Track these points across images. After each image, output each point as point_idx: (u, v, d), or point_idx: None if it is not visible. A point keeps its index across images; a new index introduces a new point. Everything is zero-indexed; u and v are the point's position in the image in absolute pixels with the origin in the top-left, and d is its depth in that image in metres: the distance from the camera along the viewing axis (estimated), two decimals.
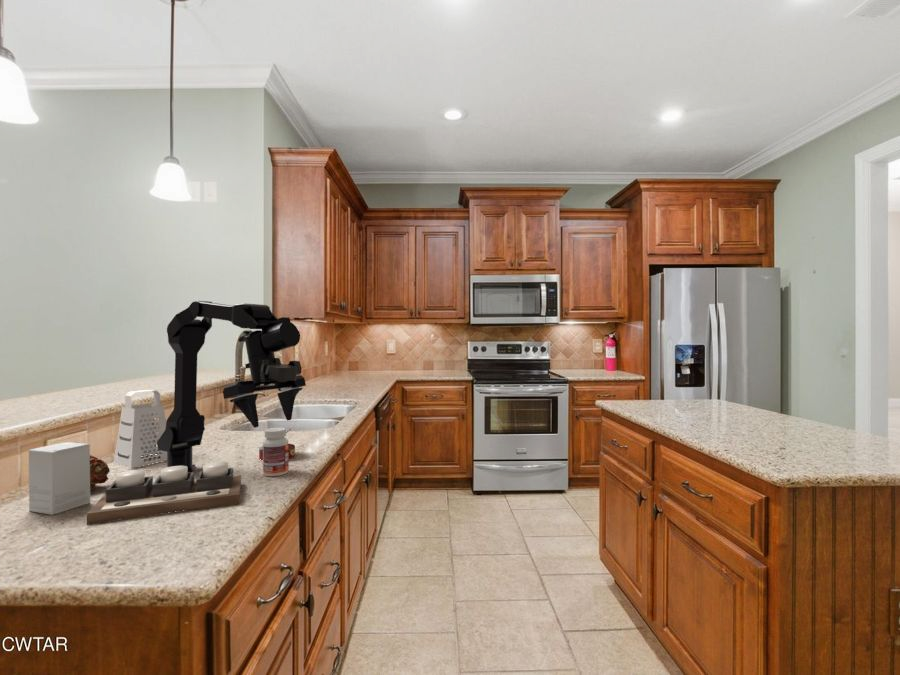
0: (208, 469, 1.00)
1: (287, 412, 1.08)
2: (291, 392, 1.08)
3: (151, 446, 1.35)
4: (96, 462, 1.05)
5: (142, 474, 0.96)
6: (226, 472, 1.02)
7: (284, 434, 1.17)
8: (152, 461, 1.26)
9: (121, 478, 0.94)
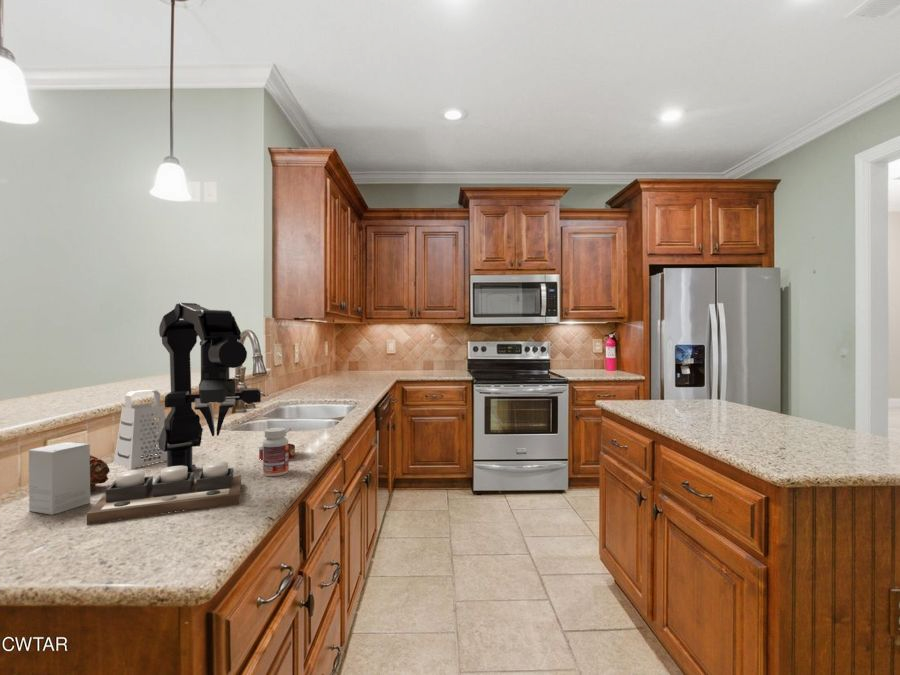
0: (208, 469, 1.00)
1: (217, 427, 1.02)
2: (219, 408, 1.01)
3: (151, 446, 1.35)
4: (96, 462, 1.05)
5: (142, 474, 0.96)
6: (226, 472, 1.02)
7: (284, 434, 1.17)
8: (152, 461, 1.26)
9: (121, 478, 0.94)
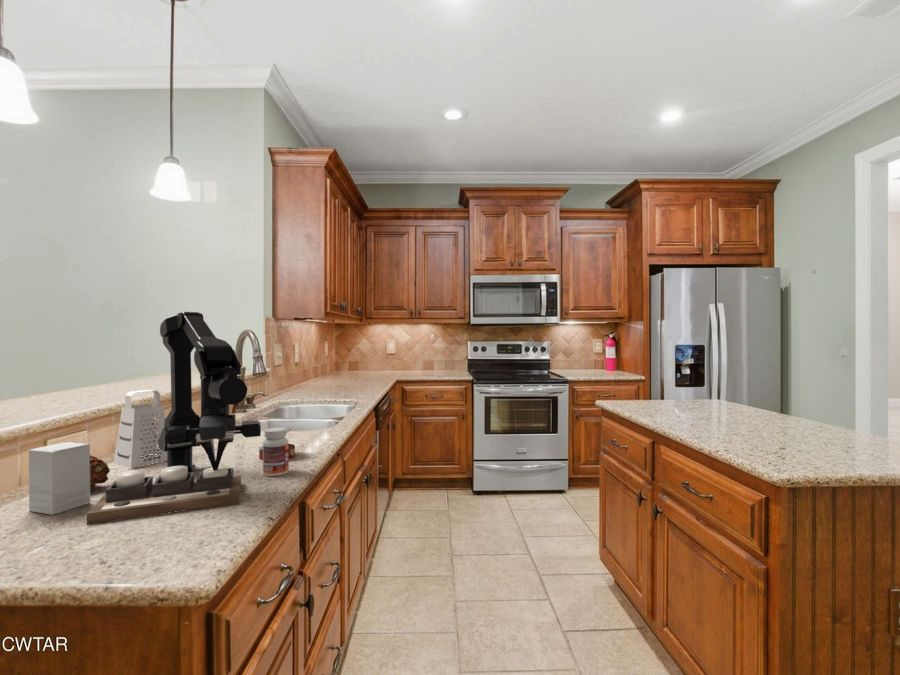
0: (208, 474, 1.00)
1: (215, 461, 1.02)
2: (218, 443, 1.01)
3: (151, 446, 1.35)
4: (96, 462, 1.05)
5: (142, 474, 0.96)
6: None
7: (284, 434, 1.17)
8: (152, 461, 1.26)
9: (121, 478, 0.94)
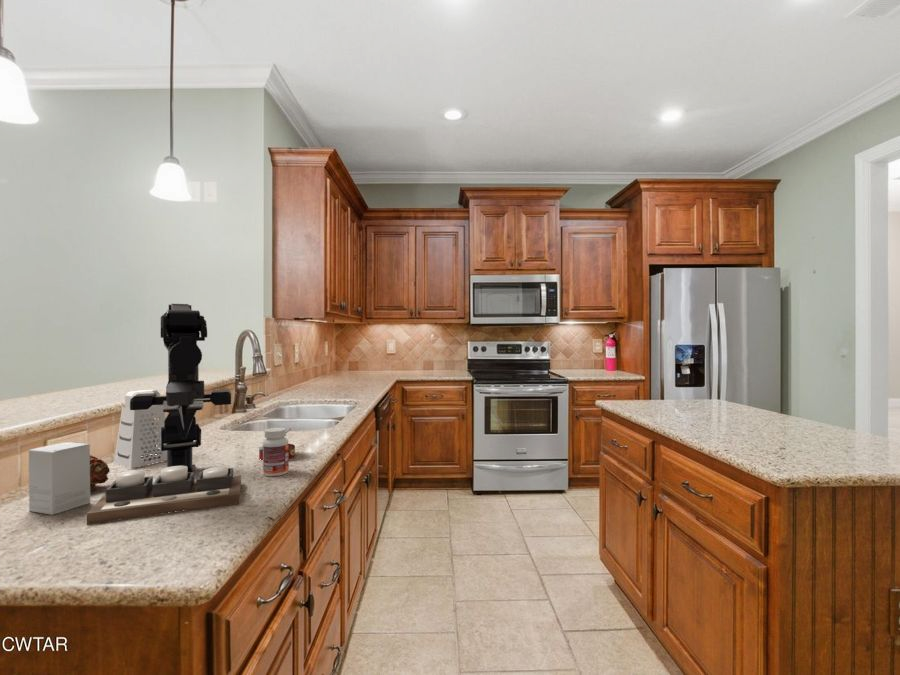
0: (208, 474, 1.00)
1: None
2: (186, 411, 0.98)
3: (151, 446, 1.35)
4: (96, 462, 1.05)
5: (142, 474, 0.96)
6: None
7: (284, 434, 1.17)
8: (152, 461, 1.26)
9: (121, 478, 0.94)
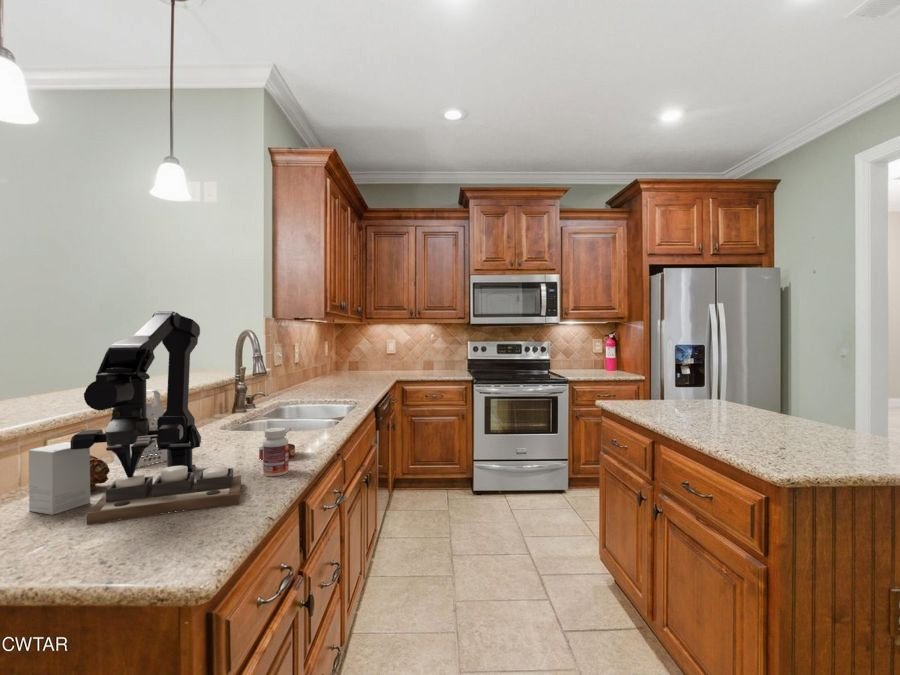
0: (208, 474, 1.00)
1: None
2: None
3: (151, 446, 1.35)
4: (96, 462, 1.05)
5: (142, 478, 0.96)
6: None
7: (284, 434, 1.17)
8: (152, 461, 1.26)
9: (121, 482, 0.94)
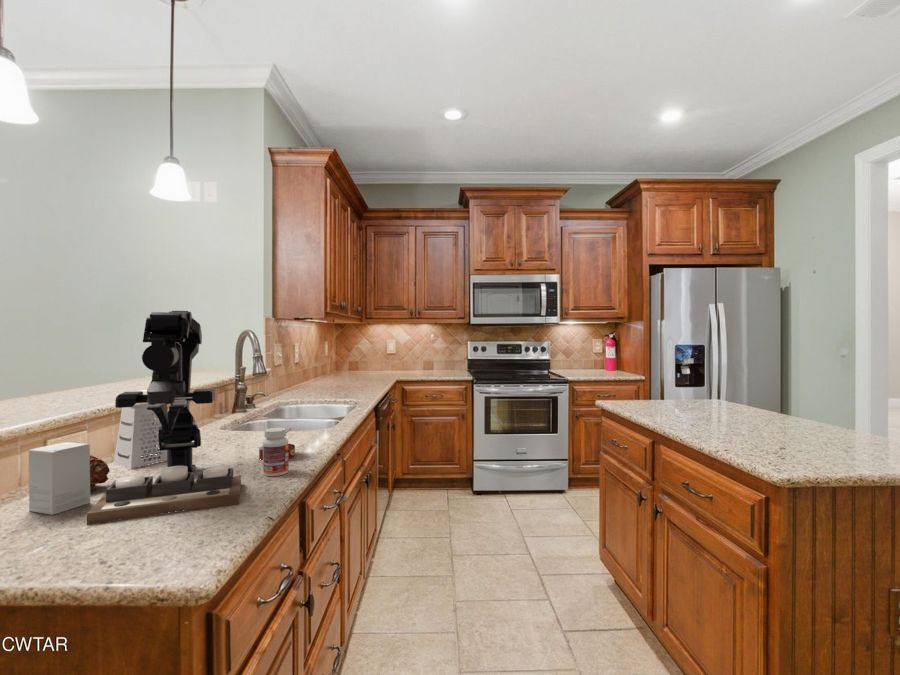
0: (208, 474, 1.00)
1: None
2: None
3: (151, 446, 1.35)
4: (96, 462, 1.05)
5: (142, 480, 0.96)
6: None
7: (284, 434, 1.17)
8: (152, 461, 1.26)
9: (121, 484, 0.94)
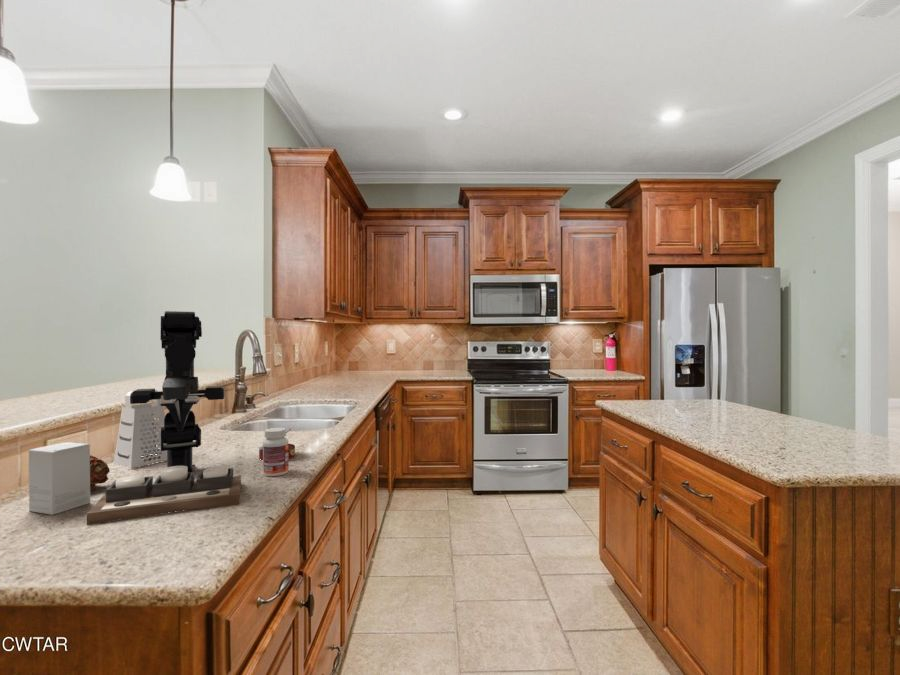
0: (208, 474, 1.00)
1: None
2: (182, 405, 1.06)
3: (151, 446, 1.35)
4: (96, 462, 1.05)
5: (142, 480, 0.96)
6: None
7: (284, 434, 1.17)
8: (152, 461, 1.26)
9: (121, 484, 0.94)
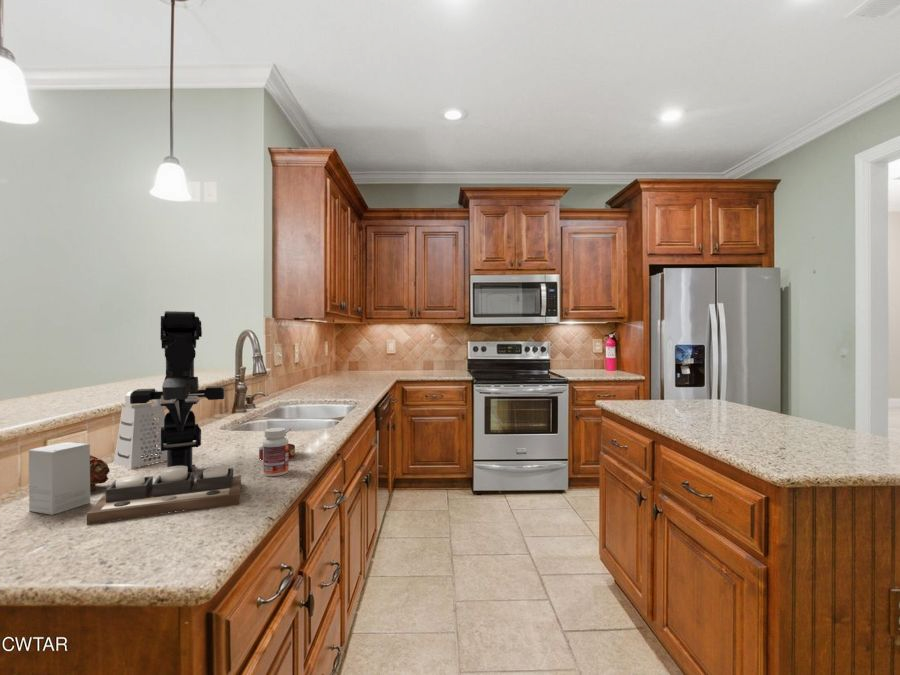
0: (208, 474, 1.00)
1: None
2: (182, 405, 1.06)
3: (151, 446, 1.35)
4: (96, 462, 1.05)
5: (142, 480, 0.96)
6: None
7: (284, 434, 1.17)
8: (152, 461, 1.26)
9: (121, 484, 0.94)
